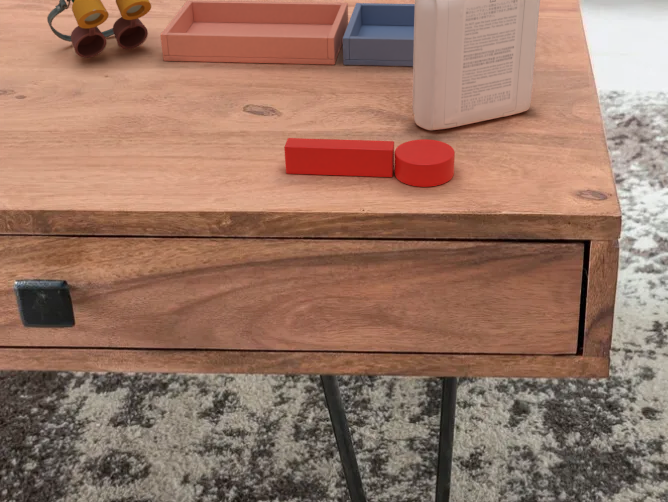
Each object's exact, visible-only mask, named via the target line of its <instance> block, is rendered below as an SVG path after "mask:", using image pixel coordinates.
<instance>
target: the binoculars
mask: <svg viewBox="0 0 668 502" xmlns="http://www.w3.org/2000/svg"><path fill="white" fill-rule="evenodd" d="M71 3H72V6H71V11H72V14H73V16H74V19H75V21H76V24H77V26H76V27H74V29H73V30H72V31H71V33H70V35H68V34H64V33H61V32H60V31H58V30H57V29H55V27H53V24H52V23H53V21H54V19H55V18H56V17H57V16H58V15H59V14H61V13H62V12H65V10H68V9H69V8H70V5H71ZM115 4H116V6H117V8H118V11H119V14H120V16H121V17H119V18H118V19H116V20H115V22H114V23H113V25H112V28H109V29H107V30H104V31H102V30H100V29H99V27H100V26H101V25H102V24H104V23H105V22H106V21H108V18H109V15H110V14H109V12H108V10H107V9H106V7H105V5H104V3H103V2H102V0H58V4H56V5H55V7H54V8H52V10H51V11H50V12H49V13H48V15H47V18H46V21H47V23H48V27H49V28H50V31H52V33H53V34H54V35H55V36H56V37H58V38H59V39H61V40H63V41H65V42H70V43H72V46H73V50H74V52H75V54H76V55H77V56H78V57H80V58H83V59H90V58H95V57H96V56H98V55H100V54H101V53H102V52H103V51H104V50H105V49H106V46H107V42H108V40H107V38H108V37H111V36H113V35H114V38H115V40H116V41H115V42H116V43H117V45H118V47H119V48H121V49H123V50H132V49H135V48H138V47H140V46H141V45H143V43H144V42H145V41H146V40H147V38H148V35H149V32H148V31H149V30H148V28H147V27H146V26H145V24H144V23H143V22H142V21H141V19H140V18H142V17H144V16H146V15H147V14H148V13H149V12H150V11H151V10H152V3H151V2H150V0H115Z"/></svg>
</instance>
